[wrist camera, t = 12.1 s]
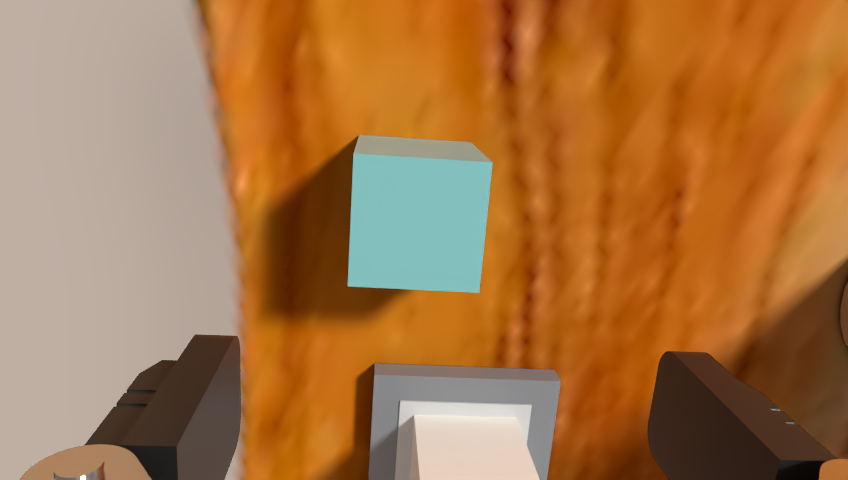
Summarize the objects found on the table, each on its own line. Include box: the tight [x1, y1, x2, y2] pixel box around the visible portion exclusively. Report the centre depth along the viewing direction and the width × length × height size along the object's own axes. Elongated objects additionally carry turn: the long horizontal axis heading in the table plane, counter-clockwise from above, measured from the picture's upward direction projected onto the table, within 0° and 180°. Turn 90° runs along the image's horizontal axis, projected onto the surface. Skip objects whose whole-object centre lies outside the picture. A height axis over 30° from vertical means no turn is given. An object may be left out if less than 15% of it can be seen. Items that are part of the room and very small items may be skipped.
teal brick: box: [348, 135, 493, 293], centre depth 26 cm, size 5×5×6 cm
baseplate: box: [368, 363, 561, 480], centre depth 32 cm, size 9×9×1 cm
